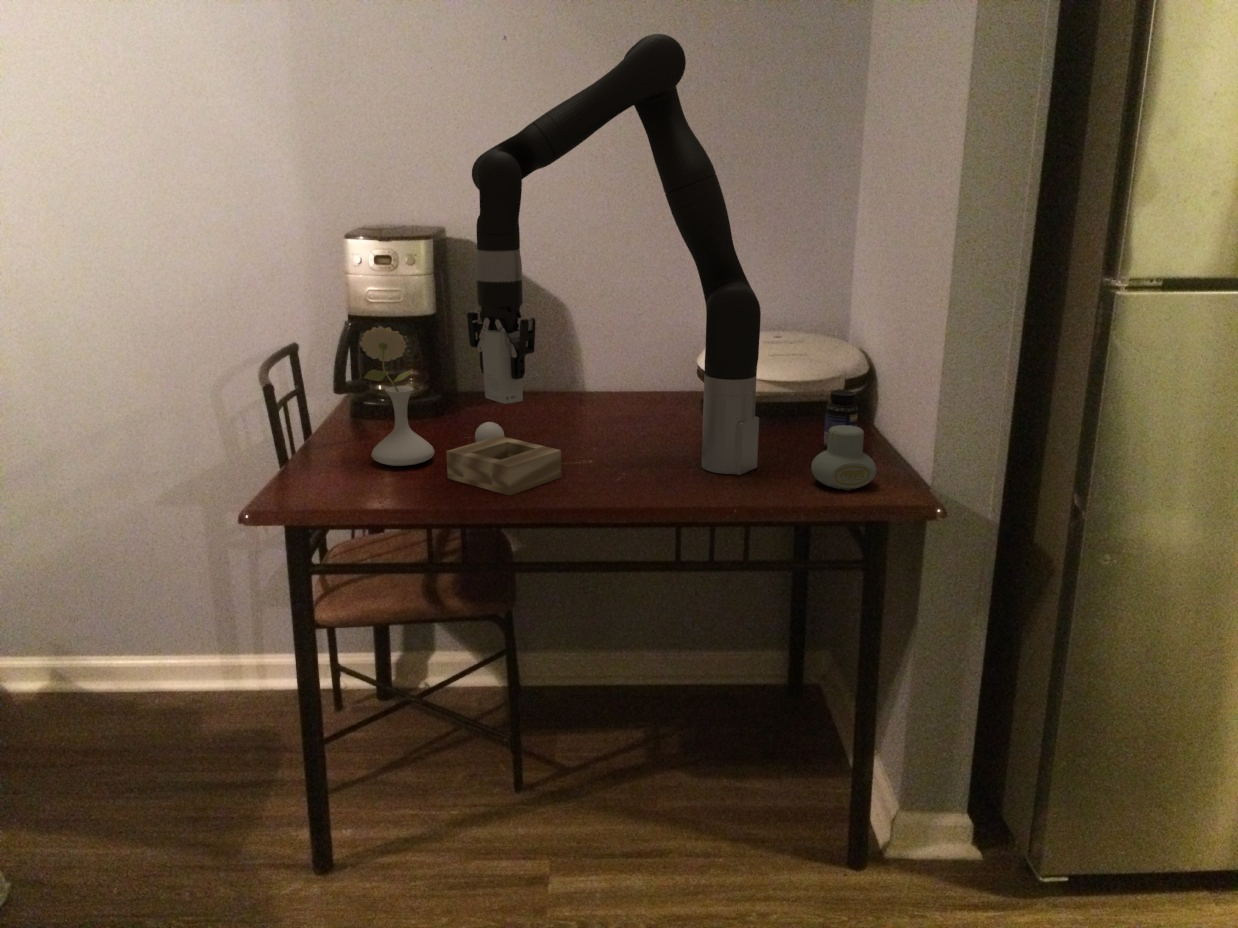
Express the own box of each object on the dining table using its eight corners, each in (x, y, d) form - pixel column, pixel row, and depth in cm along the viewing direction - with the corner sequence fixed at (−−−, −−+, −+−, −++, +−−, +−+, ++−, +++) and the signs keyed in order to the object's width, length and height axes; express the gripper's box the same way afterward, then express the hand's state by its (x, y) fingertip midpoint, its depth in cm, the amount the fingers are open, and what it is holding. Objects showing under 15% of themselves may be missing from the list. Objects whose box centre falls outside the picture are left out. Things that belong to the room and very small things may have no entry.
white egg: (504, 446, 199) (503, 418, 197) (505, 454, 193) (504, 425, 192) (464, 447, 197) (463, 419, 196) (464, 455, 192) (463, 426, 190)
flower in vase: (445, 456, 192) (439, 323, 184) (418, 473, 181) (410, 333, 174) (382, 450, 195) (374, 320, 188) (352, 467, 185) (342, 330, 177)
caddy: (561, 477, 179) (560, 450, 178) (509, 495, 170) (508, 467, 168) (499, 461, 188) (499, 435, 187) (447, 478, 178) (446, 451, 177)
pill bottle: (853, 453, 195) (857, 397, 192) (821, 450, 197) (824, 394, 194) (856, 445, 201) (861, 390, 197) (825, 442, 202) (829, 388, 199)
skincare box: (524, 401, 174) (522, 330, 170) (502, 405, 171) (499, 333, 168) (504, 394, 179) (502, 326, 175) (482, 398, 176) (480, 328, 172)
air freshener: (863, 476, 181) (868, 422, 178) (881, 491, 173) (886, 434, 170) (804, 478, 180) (807, 424, 177) (819, 493, 172) (823, 436, 169)
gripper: (546, 278, 167) (548, 378, 172) (484, 272, 176) (488, 367, 181) (515, 282, 162) (517, 385, 167) (452, 276, 170) (456, 374, 175)
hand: (502, 375), depth 174 cm, fingers closed on skincare box, 6 cm apart
